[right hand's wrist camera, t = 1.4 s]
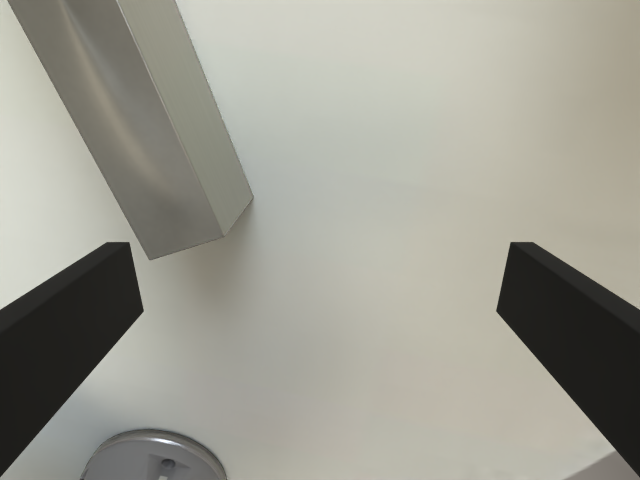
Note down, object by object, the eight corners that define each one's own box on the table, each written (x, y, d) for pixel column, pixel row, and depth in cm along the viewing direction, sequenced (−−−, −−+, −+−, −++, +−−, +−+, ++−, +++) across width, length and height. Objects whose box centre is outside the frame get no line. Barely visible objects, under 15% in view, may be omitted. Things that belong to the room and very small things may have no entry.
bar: (254, 197, 28) (224, 237, 19) (200, 214, 29) (149, 260, 20) (77, -244, 19) (-121, -529, 11) (4, -207, 20) (-241, -452, 11)
